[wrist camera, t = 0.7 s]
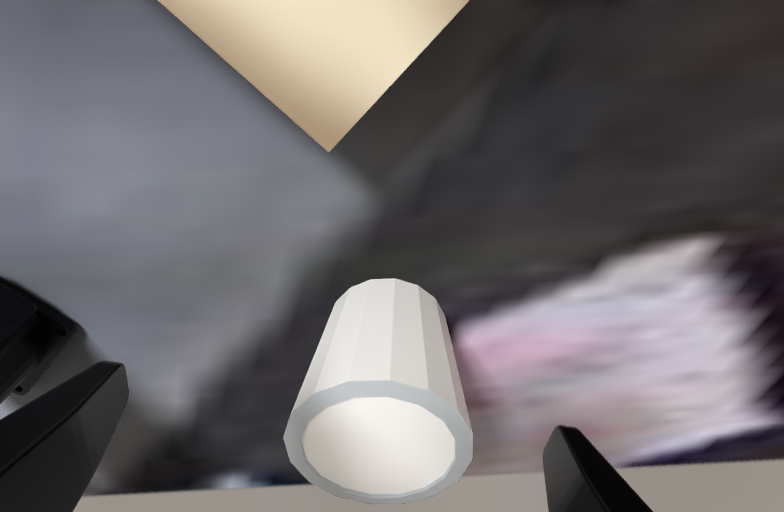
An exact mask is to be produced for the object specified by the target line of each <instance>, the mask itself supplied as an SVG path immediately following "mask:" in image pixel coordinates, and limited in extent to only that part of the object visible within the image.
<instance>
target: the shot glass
mask: <svg viewBox="0 0 784 512" xmlns="http://www.w3.org/2000/svg"><path fill="white" fill-rule="evenodd" d="M283 438H284V442H285V445H286V449H287V452H288V456H289V459H290V462H291V463H292V464H293V465H294V466H295V467H296V468H297V469H298V470H299V472H300V473H301V474H302V475H303V476H304V477H305V478H306V479H307V480H308V481H309V482H310V483H312V484H314V485H316V486H318V487H320V488H322V489H323V490H325V491H327V492H329V493H331V494H333V495H335V496H337V497H341V498H345V499H349V500H354V501H358V502H363V503H367V504H405V503H409V502H412V501H416V500H420V499H424V498H428V497H431V496H435V495H436V494H438V493H439V492H441V491H443V490H444V489H446V488H448V487H449V486H451V485H452V484H454V483H456V482H457V481H459V479H460V478H461V476H462V475H463V473H464V472H465V470H466V469H467V467H468V466H469V464H470V463H471V461H472V460H473V432H472V428H471V424H470V419H469V415H468V411H467V407H466V403H465V398H464V394H463V390H462V386H461V381H460V377H459V373H458V369H457V364H456V360H455V356H454V352H453V348H452V343H451V339H450V335H449V331H448V326H447V322H446V318H445V315H444V313H443V311H442V309H441V308H440V306H439V304H438V302H437V300H436V299H435V298H434V297H433V296H431V295H430V294H429V293H427V292H426V291H425V290H423V289H422V288H421V287H419V286H418V285H415V284H412V283H408V282H405V281H402V280H398V279H371V280H368V281H366V282H363V283H361V284H358V285H356V286H353V287H351V288H349V289H348V290H347V291H346V292H345V293H344V294H343V295H342V296H341V297H340V298H339V299H338V300H337V301H336V302H335V305H334V307H333V310H332V312H331V315H330V317H329V320H328V322H327V325H326V327H325V330H324V332H323V335H322V337H321V340H320V342H319V345H318V347H317V350H316V352H315V355H314V357H313V360H312V362H311V365H310V367H309V370H308V372H307V375H306V377H305V380H304V382H303V385H302V387H301V390H300V392H299V395H298V397H297V400H296V402H295V405H294V407H293V410H292V412H291V415H290V418H289V421H288V425H287V428H286V431H285V434H284V437H283Z"/></svg>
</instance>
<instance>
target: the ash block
mask: <svg viewBox="0 0 784 512" xmlns="http://www.w3.org/2000/svg"><path fill="white" fill-rule="evenodd" d="M158 1H159V2H160V3H161V4H162V5H164V6H165V7H166V8H167V9H168V10H169V11H170V12H171V13H173V14H174V15H175V16H176V17H177V18H178V19H179V20H180V21H182V22H183V23H184V24H185V25H186V26H187V27H188V28H189V29H191V30H192V31H193V32H194V33H195V34H196V35H197V36H198V37H200V38H201V39H202V40H203V41H204V42H205V43H206V44H207V45H209V46H210V47H211V48H212V49H213V50H214V51H215V52H216V53H218V54H219V55H220V56H221V57H222V58H223V59H224V60H225V61H226V62H228V63H229V64H230V65H231V66H232V67H233V68H234V69H235V70H237V71H238V72H239V73H240V74H241V75H242V76H243V77H244V78H246V79H247V80H248V81H249V82H250V83H251V84H252V85H253V86H255V87H256V88H257V89H258V90H259V91H260V92H261V93H262V94H264V95H265V96H266V97H267V98H268V99H269V100H270V101H271V102H273V103H274V104H275V105H276V106H277V107H278V108H279V109H280V110H282V111H283V112H284V113H285V114H286V115H287V116H288V117H289V118H291V119H292V120H293V121H294V122H295V123H296V124H297V125H298V126H300V127H301V128H302V129H303V130H304V131H305V132H306V133H307V134H309V135H310V136H311V137H312V138H313V139H314V140H315V141H316V142H318V143H319V144H320V145H321V146H322V147H323V148H324V149H325V150H327V151H328V152H330V151H331V150H332V149H333V147H334V146H335V145H336V144H337V143H338V142H339V141H340V140H341V139H342V138H343V137H344V136H345V134H346V133H347V132H348V131H349V130H350V129H351V128H352V127H353V126H354V125H355V124H356V123H357V121H358V120H359V119H360V118H361V117H362V116H363V115H364V114H365V113H366V112H367V111H368V110H369V108H370V107H371V106H372V105H373V104H374V103H375V102H376V101H377V100H378V99H379V98H380V97H381V96H382V94H383V93H384V92H385V91H386V90H387V89H388V88H389V87H390V86H391V85H392V84H393V83H394V81H395V80H396V79H397V78H398V77H399V76H400V75H401V74H402V73H403V72H404V71H405V70H406V68H407V67H408V66H409V65H410V64H411V63H412V62H413V61H414V60H415V59H416V58H417V57H418V55H419V54H420V53H421V52H422V51H423V50H424V49H425V48H426V47H427V46H428V45H429V44H430V42H431V41H432V40H433V39H434V38H435V37H436V36H437V35H438V34H439V33H440V32H441V31H442V30H443V28H444V27H445V26H446V25H447V24H448V23H449V22H450V21H451V20H452V19H453V18H454V17H455V15H456V14H457V13H458V12H459V11H460V10H461V9H462V8H463V7H464V6H465V5H466V4H467V2H468V1H469V0H158Z"/></svg>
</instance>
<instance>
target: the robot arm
mask: <svg viewBox="0 0 784 512" xmlns="http://www.w3.org/2000/svg"><path fill="white" fill-rule="evenodd" d="M75 333H76V327H75V325H74V324H73V323H72V322H70V321H69V320H67V319H65V318H64V317H62V316H60V315H59V314H57V313H55V312H54V311H52V310H50V309H49V308H47V307H45V306H44V305H42V304H40V303H39V302H37V301H35V300H34V299H32V298H30V297H29V296H27V295H25V294H24V293H22V292H20V291H18V290H17V289H15V288H13V287H12V286H10V285H8V284H7V283H5V282H3V281H2V280H0V404H1V403H2V402H3V401H4V400H5V399H6V398H7V397H8V396H9V395H10V394H11V393H12V392H13V393H15V394H18V395H25V394H26V393H27V392H28V391H29V390H30V389H31V388H32V387H33V386H34V384H35V383H36V382H37V381H38V379H39V378H40V377H41V376H42V374H43V373H44V372H45V370H46V369H47V368H48V367H49V365H50V364H51V363H52V362H53V360H54V359H55V358H56V357H57V355H58V354H59V353H60V352H61V350H62V349H63V348H64V346H65V345H66V344H67V343H68V341H69V340H70V339H71V338H72V336H73V335H74V334H75ZM128 395H129V390H128V383H127V376H126V370H125V366H124V365H123V364H122V363H118V362H111V361H100V362H98V363H96V364H94V365H92V366H91V367H89V368H87V369H86V370H84V371H82V372H81V373H79V374H77V375H75V376H74V377H72V378H70V379H69V380H67V381H65V382H64V383H62V384H60V385H58V386H57V387H55V388H53V389H52V390H50V391H48V392H47V393H45V394H43V395H41V396H40V397H38V398H36V399H35V400H33V401H31V402H30V403H28V404H26V405H24V406H23V407H21V408H19V409H18V410H16V411H14V412H13V413H11V414H9V415H7V416H6V417H4V418H2V419H1V420H0V512H73V510H74V508H75V507H76V505H77V503H78V501H79V500H80V498H81V496H82V495H83V493H84V491H85V490H86V488H87V486H88V484H89V483H90V481H91V479H92V477H93V475H94V473H95V471H96V469H97V467H98V465H99V463H100V461H101V458H102V456H103V454H104V452H105V450H106V447H107V445H108V443H109V441H110V439H111V436H112V434H113V432H114V430H115V428H116V425H117V423H118V421H119V419H120V416H121V414H122V412H123V410H124V408H125V405H126V403H127V400H128ZM543 466H544V475H545V483H546V492H547V501H548V509H549V512H653V511H652V510H651V509H650V508H649V507H648V506H647V504H646V503H645V502H644V501H643V500H642V499H641V498H640V497H639V496H638V494H637V493H636V492H635V491H634V490H633V489H632V488H631V487H630V486H629V484H627V482H626V481H625V480H624V479H623V478H622V477H621V476H620V475H619V473H618V472H617V471H616V470H615V469H614V468H613V467H612V466H611V465H610V463H609V462H608V461H607V460H606V459H605V458H604V457H603V456H602V455H601V453H600V452H599V451H598V450H597V449H596V448H595V447H594V446H593V445H592V443H591V442H590V441H589V440H588V439H587V438H586V437H585V436H584V435H583V434H582V432H581V431H580V430H579V429H577V428H575V427H570V426H563V425H558V426H557V427H556V428H555V429H554V431H553V433H552V435H551V437H550V439H549V441H548V442H547V444H546V446H545V448H544V452H543Z"/></svg>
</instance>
